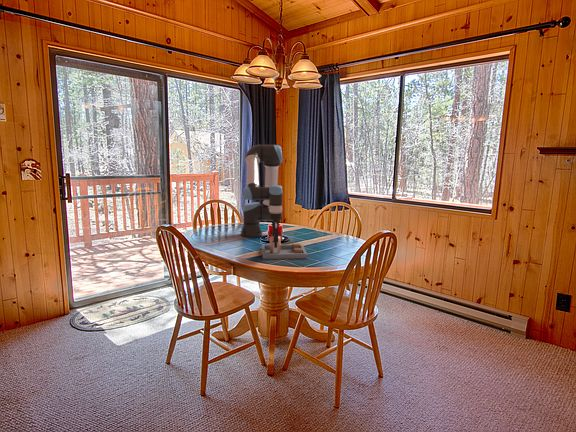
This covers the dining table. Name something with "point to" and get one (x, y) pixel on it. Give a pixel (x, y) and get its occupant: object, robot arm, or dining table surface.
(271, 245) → the tan u-shaped piece
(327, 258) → the dining table surface
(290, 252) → the tray
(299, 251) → the cube
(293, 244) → the cube
